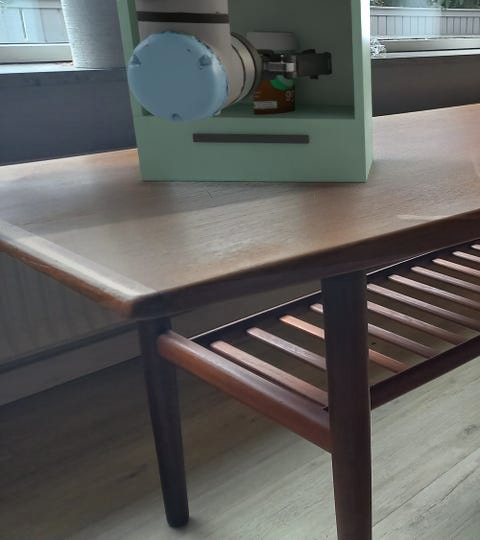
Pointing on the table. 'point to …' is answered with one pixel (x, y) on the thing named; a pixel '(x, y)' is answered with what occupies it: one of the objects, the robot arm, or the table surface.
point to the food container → (279, 90)
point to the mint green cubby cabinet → (273, 125)
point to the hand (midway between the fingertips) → (260, 58)
